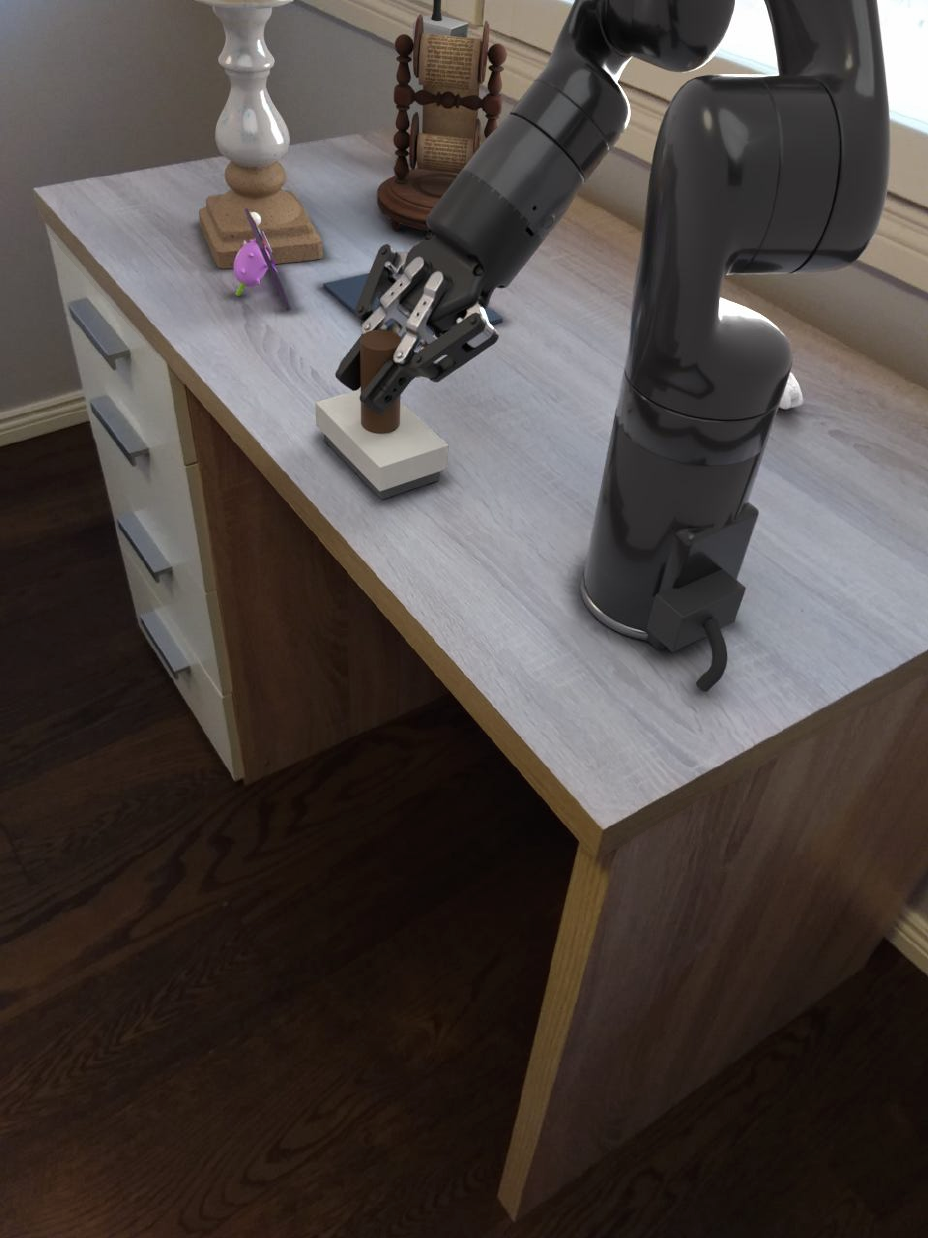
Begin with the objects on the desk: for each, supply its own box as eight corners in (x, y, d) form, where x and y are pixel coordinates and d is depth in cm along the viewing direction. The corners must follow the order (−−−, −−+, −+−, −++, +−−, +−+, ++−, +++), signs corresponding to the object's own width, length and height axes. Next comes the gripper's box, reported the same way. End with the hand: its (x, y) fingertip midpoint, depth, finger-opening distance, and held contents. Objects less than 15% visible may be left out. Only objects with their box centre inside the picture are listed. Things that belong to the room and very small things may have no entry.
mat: (502, 321, 99) (503, 317, 98) (396, 350, 93) (396, 346, 93) (425, 263, 107) (425, 259, 106) (323, 287, 101) (323, 282, 101)
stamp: (446, 481, 79) (453, 360, 72) (379, 504, 77) (380, 381, 69) (380, 418, 85) (381, 301, 78) (316, 438, 82) (311, 318, 75)
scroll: (511, 198, 120) (529, 6, 106) (502, 252, 110) (521, 46, 96) (387, 185, 121) (390, -8, 107) (366, 237, 110) (366, 30, 96)
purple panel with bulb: (270, 243, 92) (254, 203, 98) (217, 265, 92) (204, 224, 98) (298, 306, 97) (281, 264, 103) (248, 327, 97) (234, 284, 103)
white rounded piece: (776, 419, 89) (785, 391, 87) (732, 372, 94) (740, 345, 92) (807, 415, 90) (816, 387, 88) (762, 369, 95) (770, 341, 93)
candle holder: (298, 216, 113) (286, -35, 96) (324, 259, 106) (315, -4, 89) (198, 224, 110) (168, -34, 93) (218, 269, 102) (189, -2, 86)
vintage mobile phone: (442, 184, 122) (454, -62, 105) (408, 173, 124) (414, -71, 107) (459, 175, 124) (474, -67, 107) (426, 165, 126) (435, -75, 109)
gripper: (422, 136, 73) (278, 329, 76) (539, 208, 65) (373, 421, 68) (477, 198, 79) (342, 375, 82) (590, 271, 71) (436, 464, 74)
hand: (357, 395), depth 75 cm, fingers closed on stamp, 3 cm apart
